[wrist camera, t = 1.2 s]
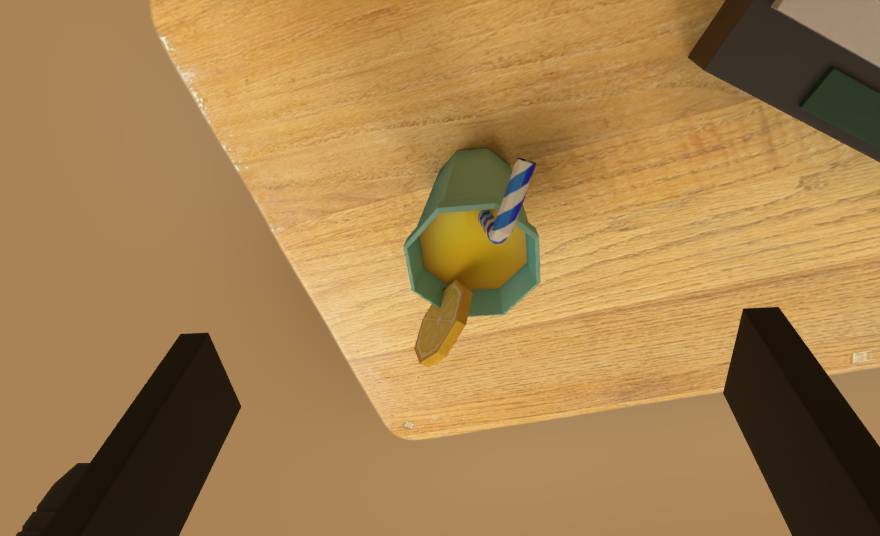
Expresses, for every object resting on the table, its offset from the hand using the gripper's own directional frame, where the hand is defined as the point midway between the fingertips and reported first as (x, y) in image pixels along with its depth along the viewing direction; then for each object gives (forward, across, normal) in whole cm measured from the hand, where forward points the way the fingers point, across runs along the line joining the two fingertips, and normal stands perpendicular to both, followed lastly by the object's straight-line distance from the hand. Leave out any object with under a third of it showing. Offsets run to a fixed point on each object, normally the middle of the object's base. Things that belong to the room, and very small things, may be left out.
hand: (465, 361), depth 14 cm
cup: (+25, 0, -6) cm, 26 cm away
